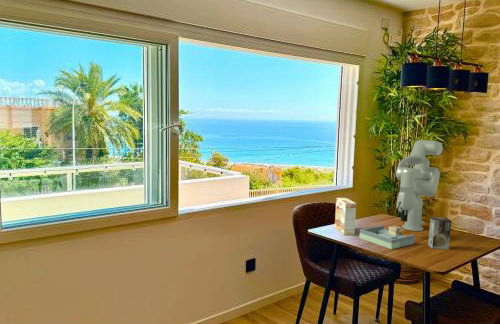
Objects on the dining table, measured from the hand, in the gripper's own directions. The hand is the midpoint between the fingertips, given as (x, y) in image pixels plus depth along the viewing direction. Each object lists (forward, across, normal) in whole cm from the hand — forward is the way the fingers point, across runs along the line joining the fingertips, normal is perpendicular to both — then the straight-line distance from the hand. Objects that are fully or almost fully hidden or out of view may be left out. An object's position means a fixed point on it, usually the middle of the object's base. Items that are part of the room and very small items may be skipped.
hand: (403, 221), depth 231 cm
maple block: (+7, +7, 0) cm, 10 cm away
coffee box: (+10, -3, +20) cm, 23 cm away
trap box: (+10, +14, 0) cm, 17 cm away
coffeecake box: (+10, +23, -24) cm, 35 cm away
